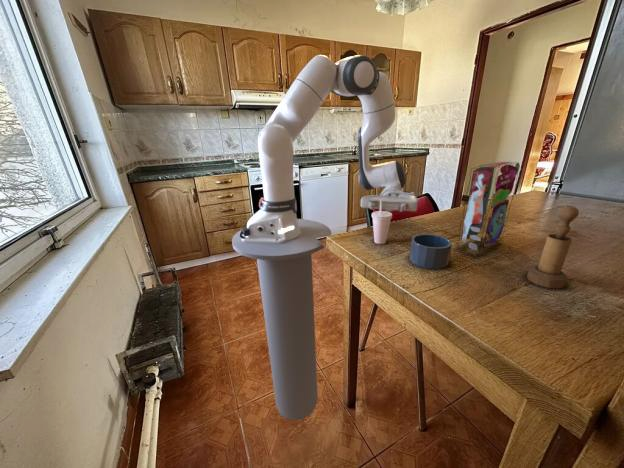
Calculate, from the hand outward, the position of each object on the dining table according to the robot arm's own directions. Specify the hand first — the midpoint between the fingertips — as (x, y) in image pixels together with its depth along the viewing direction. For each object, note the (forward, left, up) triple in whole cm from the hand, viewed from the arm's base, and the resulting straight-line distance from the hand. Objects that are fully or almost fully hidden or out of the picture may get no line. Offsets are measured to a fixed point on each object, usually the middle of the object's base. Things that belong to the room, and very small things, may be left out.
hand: (385, 208), depth 89 cm
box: (+29, -13, -9) cm, 32 cm away
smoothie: (-3, -9, -9) cm, 13 cm away
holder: (+7, -23, -9) cm, 25 cm away
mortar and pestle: (+29, -35, -9) cm, 46 cm away
